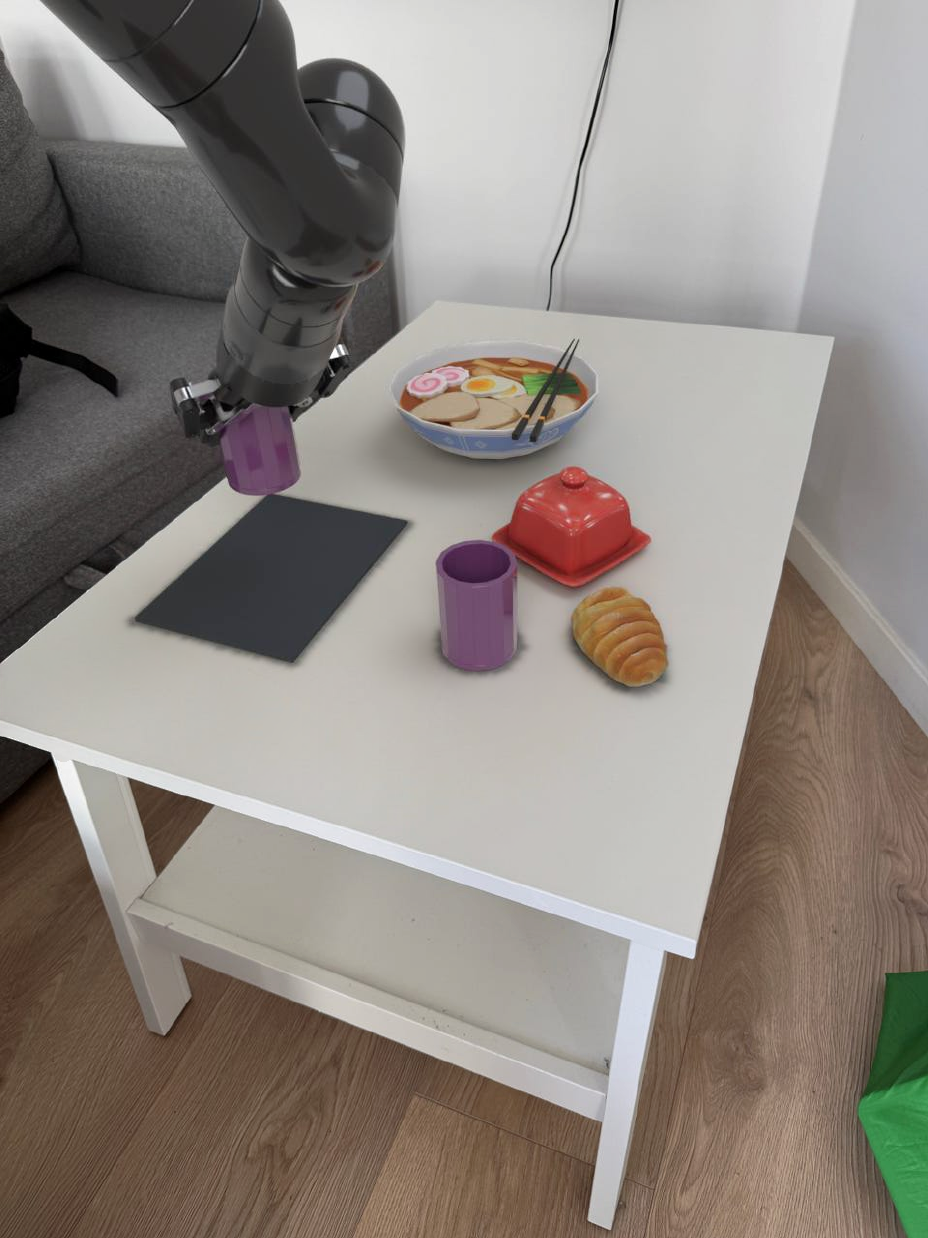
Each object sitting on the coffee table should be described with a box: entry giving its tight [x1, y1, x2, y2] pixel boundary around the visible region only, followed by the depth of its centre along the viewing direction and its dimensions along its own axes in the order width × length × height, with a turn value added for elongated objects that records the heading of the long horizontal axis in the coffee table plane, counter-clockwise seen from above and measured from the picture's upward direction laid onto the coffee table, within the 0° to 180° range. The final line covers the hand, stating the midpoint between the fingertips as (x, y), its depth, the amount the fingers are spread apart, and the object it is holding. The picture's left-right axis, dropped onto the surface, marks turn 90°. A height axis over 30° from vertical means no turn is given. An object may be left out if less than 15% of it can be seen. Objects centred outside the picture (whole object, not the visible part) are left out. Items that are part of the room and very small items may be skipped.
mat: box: [134, 493, 408, 663], centre depth 85 cm, size 22×16×1 cm
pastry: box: [570, 586, 669, 688], centre depth 73 cm, size 9×7×4 cm
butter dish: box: [490, 466, 652, 588], centre depth 83 cm, size 12×12×8 cm
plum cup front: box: [213, 405, 302, 497], centre depth 76 cm, size 6×6×8 cm
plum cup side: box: [435, 539, 518, 672], centre depth 73 cm, size 6×6×8 cm
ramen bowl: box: [387, 338, 600, 460], centre depth 100 cm, size 25×23×8 cm
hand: (247, 424), depth 77 cm, fingers closed on plum cup front, 6 cm apart
